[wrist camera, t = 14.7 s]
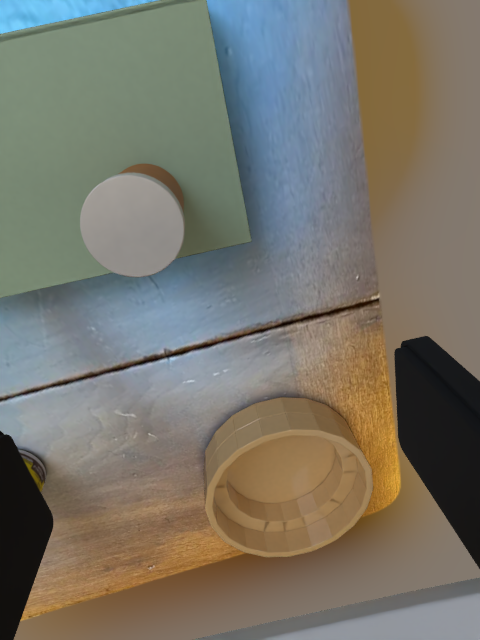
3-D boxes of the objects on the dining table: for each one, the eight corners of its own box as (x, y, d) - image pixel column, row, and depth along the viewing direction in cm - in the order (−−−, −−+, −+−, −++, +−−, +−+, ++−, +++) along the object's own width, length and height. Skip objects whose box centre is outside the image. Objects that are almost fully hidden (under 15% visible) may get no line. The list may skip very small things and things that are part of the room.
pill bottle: (174, 154, 26) (169, 164, 19) (193, 230, 28) (195, 265, 21) (97, 170, 26) (63, 187, 19) (122, 246, 28) (99, 287, 21)
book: (203, 2, 25) (204, -10, 23) (247, 233, 31) (251, 241, 29) (-132, 73, 25) (-164, 68, 23) (-23, 293, 31) (-39, 306, 29)
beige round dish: (345, 377, 38) (367, 412, 33) (357, 493, 44) (377, 535, 39) (187, 414, 37) (187, 453, 33) (221, 525, 43) (225, 572, 39)
